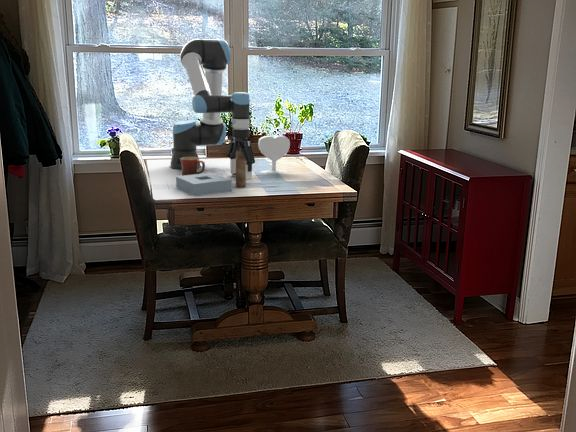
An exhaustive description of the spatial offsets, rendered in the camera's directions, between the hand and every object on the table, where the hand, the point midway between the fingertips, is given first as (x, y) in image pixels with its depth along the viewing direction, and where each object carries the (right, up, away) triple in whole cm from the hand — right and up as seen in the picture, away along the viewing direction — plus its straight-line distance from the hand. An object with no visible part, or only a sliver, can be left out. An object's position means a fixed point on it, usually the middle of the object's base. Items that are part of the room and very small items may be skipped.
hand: (240, 176), depth 275 cm
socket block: (-16, -6, -6) cm, 18 cm away
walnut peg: (0, -5, +1) cm, 5 cm away
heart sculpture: (+14, +4, +35) cm, 38 cm away
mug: (-23, -1, +12) cm, 26 cm away
